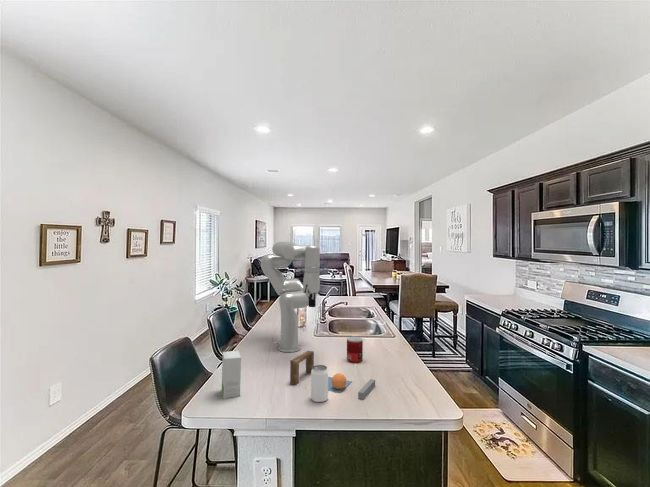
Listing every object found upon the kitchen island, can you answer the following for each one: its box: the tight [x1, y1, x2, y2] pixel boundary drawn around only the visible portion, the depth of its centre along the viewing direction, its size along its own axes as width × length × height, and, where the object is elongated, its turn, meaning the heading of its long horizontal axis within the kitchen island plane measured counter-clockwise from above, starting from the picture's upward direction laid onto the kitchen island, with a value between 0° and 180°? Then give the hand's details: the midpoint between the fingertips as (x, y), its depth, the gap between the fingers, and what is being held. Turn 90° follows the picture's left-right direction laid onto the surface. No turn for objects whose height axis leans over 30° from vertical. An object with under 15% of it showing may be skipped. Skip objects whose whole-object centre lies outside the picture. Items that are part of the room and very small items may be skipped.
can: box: [310, 364, 329, 403], centre depth 130 cm, size 6×6×12 cm
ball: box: [332, 373, 347, 389], centre depth 139 cm, size 6×6×6 cm
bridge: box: [289, 350, 315, 386], centre depth 150 cm, size 3×15×10 cm, turn 153°
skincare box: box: [221, 350, 242, 400], centre depth 135 cm, size 8×7×16 cm
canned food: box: [346, 336, 364, 364], centre depth 172 cm, size 8×8×11 cm
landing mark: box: [328, 376, 353, 394], centre depth 143 cm, size 12×12×1 cm
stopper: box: [357, 378, 376, 400], centre depth 136 cm, size 2×14×2 cm, turn 153°
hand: (312, 306), depth 172 cm, fingers closed
